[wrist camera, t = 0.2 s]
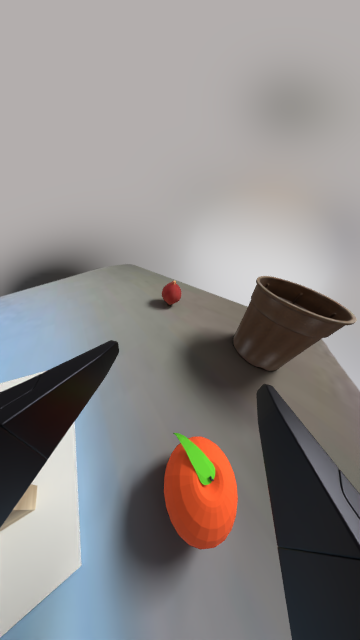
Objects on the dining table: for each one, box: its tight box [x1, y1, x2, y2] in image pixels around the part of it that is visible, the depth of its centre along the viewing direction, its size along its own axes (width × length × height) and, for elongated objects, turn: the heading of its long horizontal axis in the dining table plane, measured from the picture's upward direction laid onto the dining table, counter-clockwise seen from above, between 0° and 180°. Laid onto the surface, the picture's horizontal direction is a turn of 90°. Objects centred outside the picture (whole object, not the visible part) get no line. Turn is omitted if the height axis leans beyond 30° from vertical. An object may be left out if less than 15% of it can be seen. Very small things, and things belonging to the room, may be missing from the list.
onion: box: [162, 281, 181, 305], centre depth 43 cm, size 6×6×8 cm
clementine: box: [164, 433, 238, 549], centre depth 14 cm, size 8×7×7 cm
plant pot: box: [233, 276, 356, 371], centre depth 31 cm, size 16×16×16 cm
